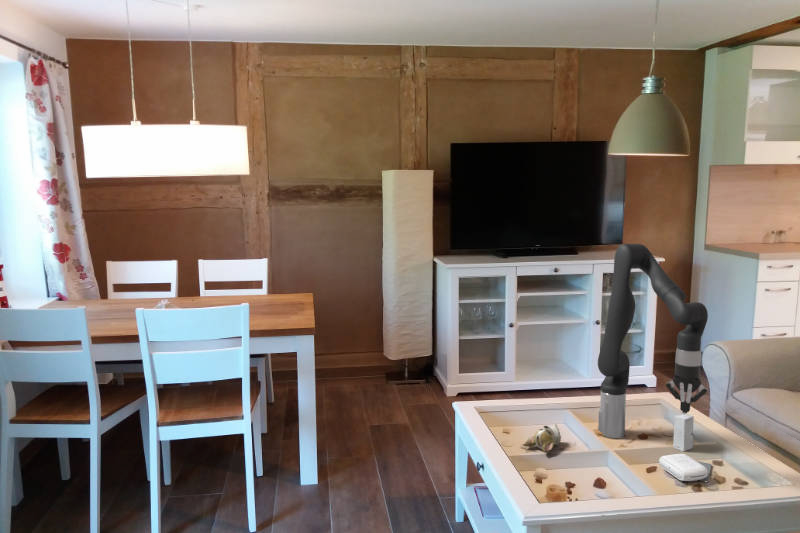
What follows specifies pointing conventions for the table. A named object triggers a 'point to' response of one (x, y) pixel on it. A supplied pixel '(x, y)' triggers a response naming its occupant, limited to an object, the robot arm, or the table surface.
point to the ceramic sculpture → (545, 438)
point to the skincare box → (683, 432)
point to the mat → (708, 467)
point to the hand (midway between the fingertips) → (685, 412)
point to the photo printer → (683, 467)
